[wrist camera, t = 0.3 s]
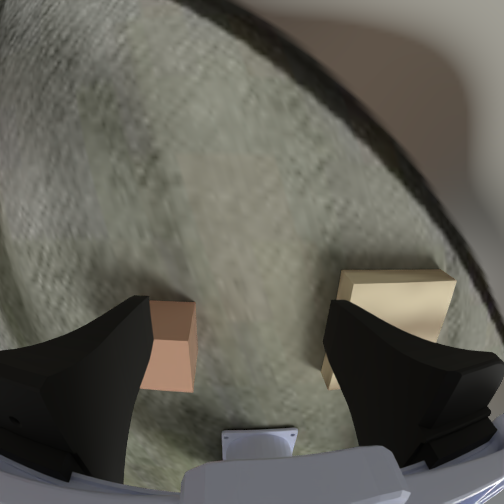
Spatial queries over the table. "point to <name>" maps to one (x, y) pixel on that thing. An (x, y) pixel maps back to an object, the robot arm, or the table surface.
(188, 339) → the block
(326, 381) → the base
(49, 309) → the table surface
